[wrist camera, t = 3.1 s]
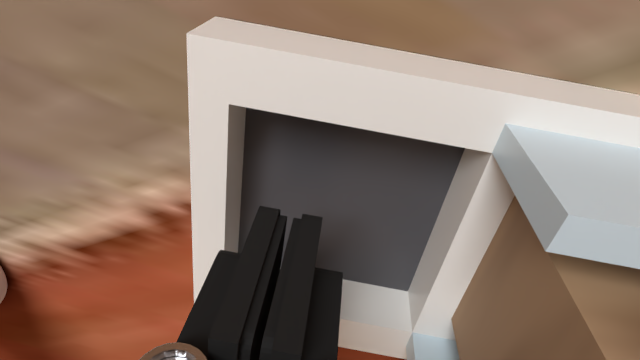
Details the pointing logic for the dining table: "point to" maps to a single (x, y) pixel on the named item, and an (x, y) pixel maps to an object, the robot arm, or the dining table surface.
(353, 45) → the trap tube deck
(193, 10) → the dining table surface
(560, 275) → the walnut block
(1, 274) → the supplement bottle
